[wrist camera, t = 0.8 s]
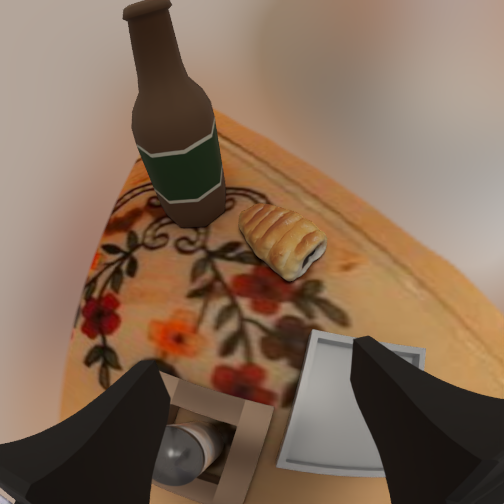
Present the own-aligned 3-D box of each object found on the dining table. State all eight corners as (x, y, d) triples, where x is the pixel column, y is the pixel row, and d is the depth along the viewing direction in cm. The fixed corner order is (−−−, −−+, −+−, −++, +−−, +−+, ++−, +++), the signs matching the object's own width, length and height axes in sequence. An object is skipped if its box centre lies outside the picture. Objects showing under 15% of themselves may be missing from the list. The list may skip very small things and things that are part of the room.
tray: (392, 472, 16) (401, 476, 14) (275, 462, 18) (275, 467, 16) (415, 353, 22) (425, 348, 20) (309, 335, 24) (312, 329, 22)
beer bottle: (210, 239, 30) (151, 0, 10) (154, 221, 32) (74, 27, 11) (239, 190, 34) (216, -15, 13) (185, 177, 35) (141, 0, 15)
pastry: (224, 237, 30) (219, 214, 27) (266, 202, 33) (265, 178, 30) (292, 290, 27) (295, 271, 23) (331, 246, 29) (338, 224, 26)
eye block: (241, 504, 16) (239, 513, 14) (135, 465, 18) (122, 469, 15) (273, 406, 21) (274, 406, 19) (165, 373, 23) (154, 369, 20)
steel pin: (216, 468, 18) (192, 495, 11) (173, 452, 19) (130, 468, 11) (229, 429, 20) (210, 440, 13) (185, 414, 21) (146, 415, 13)
